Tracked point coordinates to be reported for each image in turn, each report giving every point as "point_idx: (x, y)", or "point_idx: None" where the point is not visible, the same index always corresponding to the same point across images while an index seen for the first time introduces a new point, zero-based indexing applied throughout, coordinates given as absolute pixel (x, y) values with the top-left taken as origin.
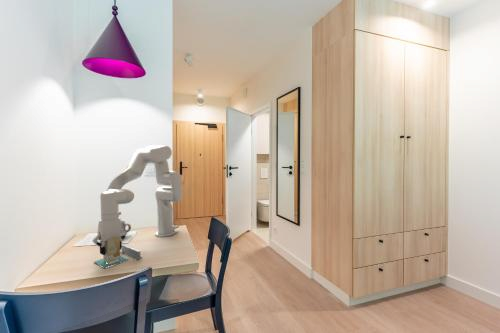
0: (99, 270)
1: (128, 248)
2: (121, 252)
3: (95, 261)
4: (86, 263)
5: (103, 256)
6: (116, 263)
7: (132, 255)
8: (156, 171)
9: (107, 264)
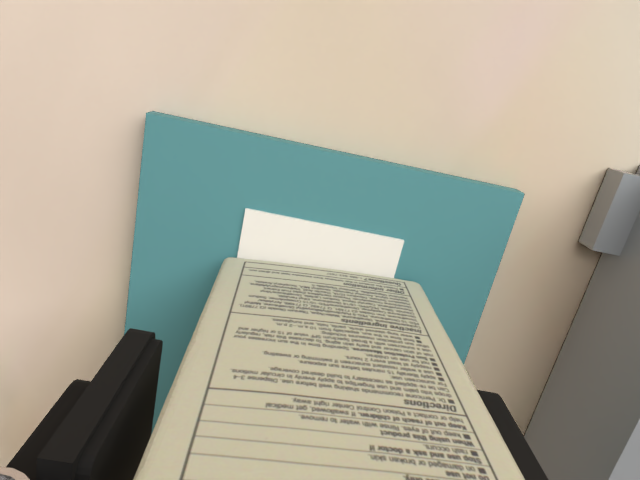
0: None
1: (619, 436)
2: (601, 214)
3: (164, 131)
4: (75, 2)
5: (211, 291)
6: None
7: None
8: None
9: None
